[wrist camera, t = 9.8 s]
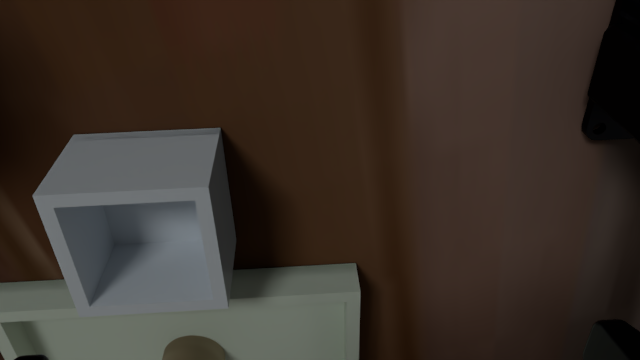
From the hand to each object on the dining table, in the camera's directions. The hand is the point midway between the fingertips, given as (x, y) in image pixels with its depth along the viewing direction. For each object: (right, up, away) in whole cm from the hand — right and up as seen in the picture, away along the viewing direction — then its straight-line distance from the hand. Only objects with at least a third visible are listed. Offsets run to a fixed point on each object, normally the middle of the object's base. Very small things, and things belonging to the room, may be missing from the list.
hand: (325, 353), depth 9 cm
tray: (-6, -6, +18) cm, 20 cm away
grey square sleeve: (-7, +2, +13) cm, 15 cm away
